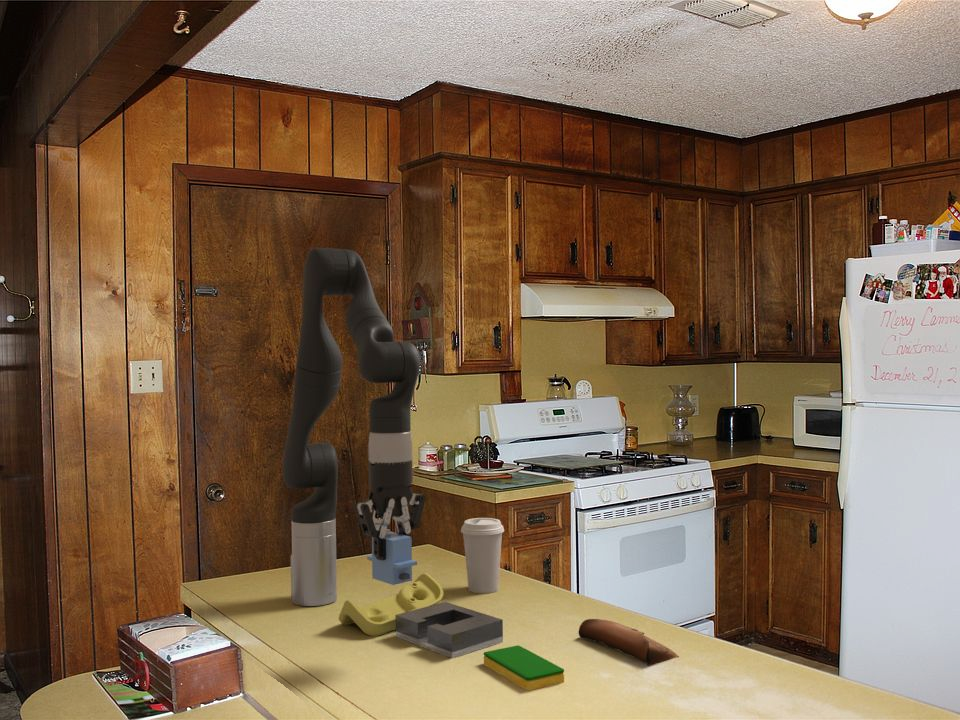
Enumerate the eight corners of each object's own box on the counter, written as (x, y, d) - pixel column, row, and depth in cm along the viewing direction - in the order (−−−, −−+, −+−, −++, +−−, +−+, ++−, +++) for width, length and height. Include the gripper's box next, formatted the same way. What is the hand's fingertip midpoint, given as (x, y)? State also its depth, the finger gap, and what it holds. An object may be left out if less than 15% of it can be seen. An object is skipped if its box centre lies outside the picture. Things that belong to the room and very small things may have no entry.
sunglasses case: (683, 655, 149) (668, 625, 147) (658, 684, 146) (642, 654, 144) (612, 628, 164) (598, 601, 162) (587, 654, 161) (572, 626, 159)
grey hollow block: (395, 636, 162) (395, 615, 162) (445, 622, 170) (445, 601, 170) (452, 658, 150) (451, 634, 150) (502, 641, 158) (502, 619, 158)
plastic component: (373, 627, 160) (342, 594, 166) (365, 658, 163) (335, 625, 169) (453, 596, 174) (421, 567, 180) (444, 626, 177) (414, 596, 183)
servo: (398, 586, 147) (398, 537, 147) (367, 576, 153) (366, 529, 153) (417, 582, 149) (416, 533, 149) (385, 572, 156) (385, 525, 156)
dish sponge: (518, 658, 151) (518, 644, 151) (565, 684, 139) (565, 669, 139) (482, 666, 147) (482, 651, 147) (527, 693, 135) (527, 677, 135)
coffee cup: (478, 581, 200) (477, 515, 199) (513, 587, 194) (512, 519, 194) (452, 591, 192) (451, 522, 192) (488, 597, 186) (487, 527, 186)
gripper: (409, 452, 159) (410, 547, 159) (343, 459, 149) (344, 560, 149) (436, 455, 153) (437, 554, 153) (369, 464, 143) (370, 568, 144)
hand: (391, 556), depth 151 cm, fingers closed on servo, 4 cm apart
